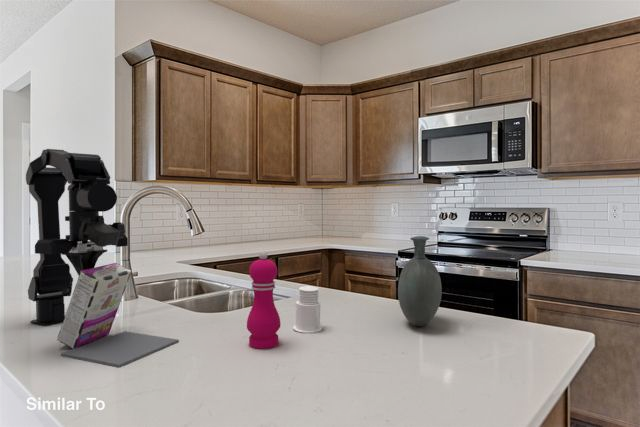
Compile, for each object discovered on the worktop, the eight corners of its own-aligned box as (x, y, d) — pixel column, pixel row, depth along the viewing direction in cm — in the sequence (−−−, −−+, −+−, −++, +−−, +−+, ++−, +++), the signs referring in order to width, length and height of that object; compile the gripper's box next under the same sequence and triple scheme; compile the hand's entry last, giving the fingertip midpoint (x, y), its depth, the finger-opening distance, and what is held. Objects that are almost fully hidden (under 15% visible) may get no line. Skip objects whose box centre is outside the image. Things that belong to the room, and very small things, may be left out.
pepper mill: (285, 340, 97) (285, 250, 97) (271, 351, 90) (271, 254, 90) (256, 337, 100) (255, 249, 99) (240, 347, 93) (239, 253, 92)
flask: (384, 329, 105) (384, 238, 104) (408, 313, 120) (409, 233, 119) (432, 337, 99) (432, 240, 98) (451, 319, 114) (452, 234, 113)
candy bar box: (91, 324, 103) (115, 261, 101) (109, 334, 102) (133, 271, 100) (54, 339, 92) (80, 269, 90) (73, 350, 91) (99, 279, 90)
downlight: (286, 327, 107) (286, 287, 106) (307, 322, 112) (308, 283, 111) (307, 336, 101) (308, 294, 100) (329, 330, 106) (330, 289, 105)
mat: (60, 355, 88) (60, 353, 88) (125, 333, 103) (125, 331, 103) (119, 367, 82) (119, 364, 82) (178, 341, 97) (178, 339, 97)
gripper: (70, 212, 84) (71, 293, 84) (144, 210, 101) (146, 278, 102) (32, 212, 89) (34, 289, 89) (109, 210, 106) (111, 275, 106)
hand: (85, 282), depth 96 cm, fingers closed
